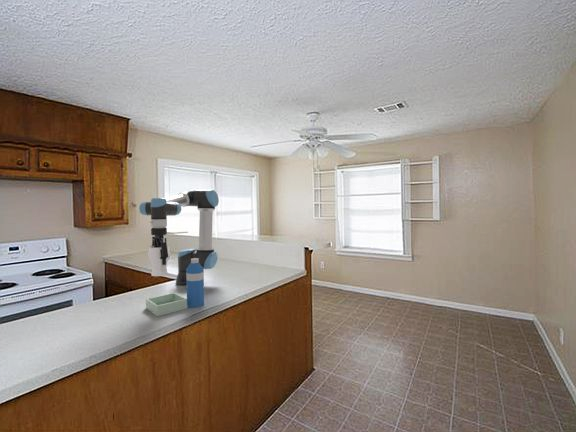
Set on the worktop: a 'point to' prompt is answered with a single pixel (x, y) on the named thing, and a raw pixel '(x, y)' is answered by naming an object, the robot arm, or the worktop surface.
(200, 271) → the water bottle
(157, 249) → the cup
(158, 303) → the dish rack
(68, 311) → the worktop surface
